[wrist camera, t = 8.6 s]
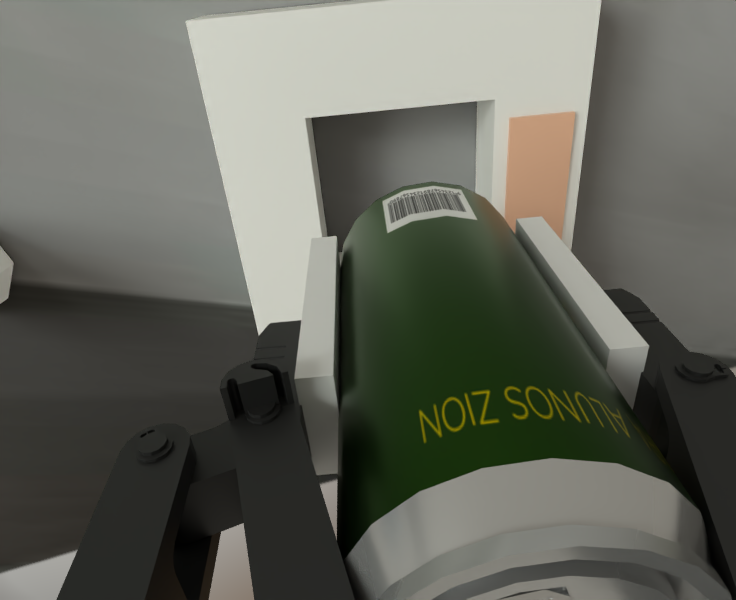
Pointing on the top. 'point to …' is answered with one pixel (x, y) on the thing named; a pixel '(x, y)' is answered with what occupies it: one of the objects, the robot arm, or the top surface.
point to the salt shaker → (5, 275)
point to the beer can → (490, 427)
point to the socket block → (387, 92)
